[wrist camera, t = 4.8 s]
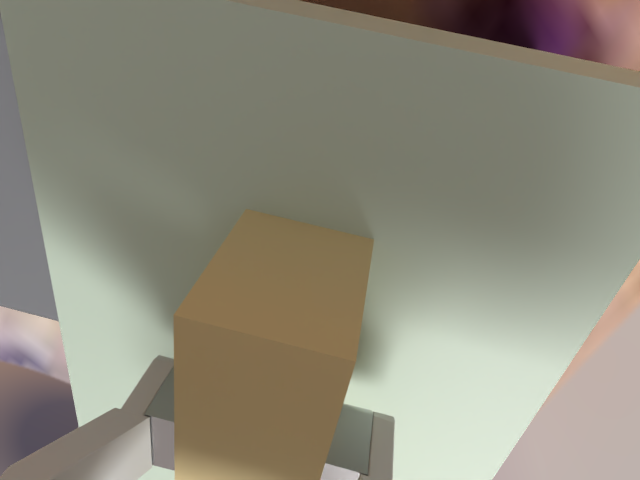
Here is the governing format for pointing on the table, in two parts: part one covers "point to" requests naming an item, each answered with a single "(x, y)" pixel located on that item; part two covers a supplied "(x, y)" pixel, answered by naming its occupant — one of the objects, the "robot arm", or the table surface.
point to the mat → (19, 212)
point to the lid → (321, 222)
